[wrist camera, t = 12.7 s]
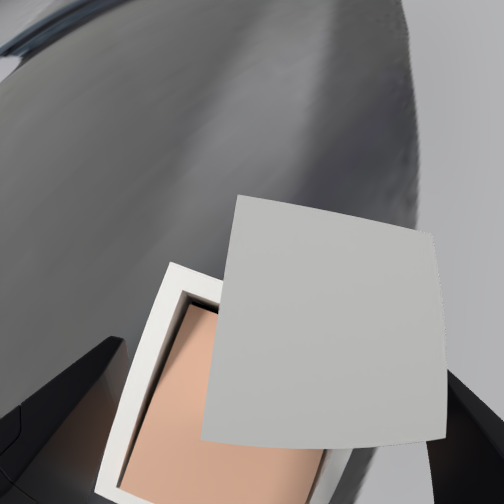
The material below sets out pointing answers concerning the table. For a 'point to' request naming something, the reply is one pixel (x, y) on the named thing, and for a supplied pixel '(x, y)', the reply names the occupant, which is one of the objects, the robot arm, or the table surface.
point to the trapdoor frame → (148, 375)
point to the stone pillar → (326, 333)
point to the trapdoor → (205, 452)
